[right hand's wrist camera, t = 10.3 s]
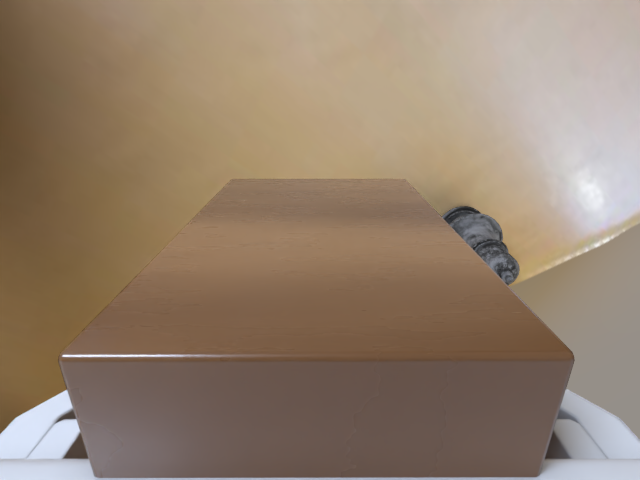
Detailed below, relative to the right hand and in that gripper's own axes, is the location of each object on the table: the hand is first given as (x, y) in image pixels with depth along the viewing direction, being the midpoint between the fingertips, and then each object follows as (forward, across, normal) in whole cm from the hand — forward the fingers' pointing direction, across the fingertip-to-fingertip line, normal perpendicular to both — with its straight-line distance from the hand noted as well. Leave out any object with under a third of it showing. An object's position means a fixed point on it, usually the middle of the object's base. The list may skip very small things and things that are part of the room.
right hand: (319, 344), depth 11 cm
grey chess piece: (+30, +15, -8) cm, 35 cm away
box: (+4, 0, -7) cm, 8 cm away
